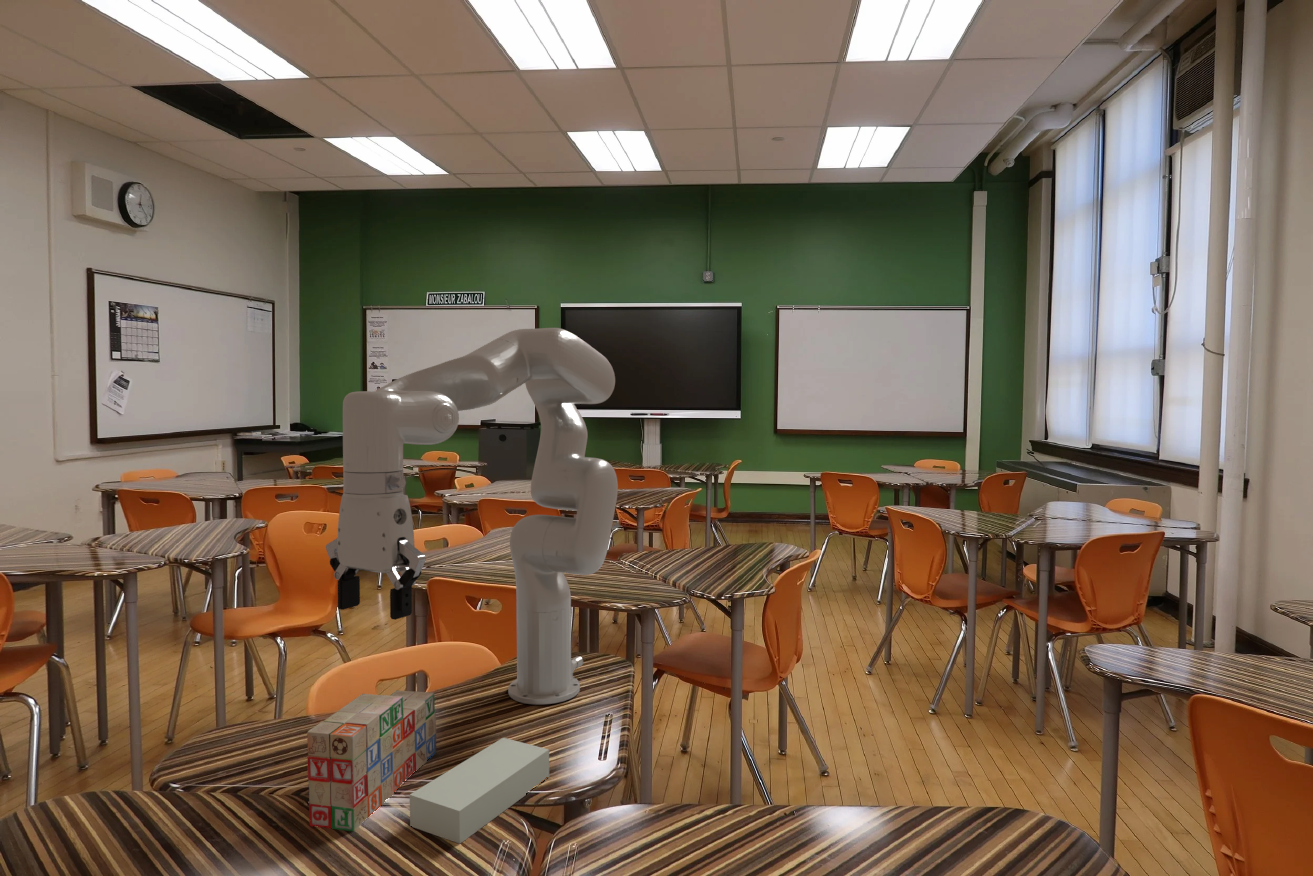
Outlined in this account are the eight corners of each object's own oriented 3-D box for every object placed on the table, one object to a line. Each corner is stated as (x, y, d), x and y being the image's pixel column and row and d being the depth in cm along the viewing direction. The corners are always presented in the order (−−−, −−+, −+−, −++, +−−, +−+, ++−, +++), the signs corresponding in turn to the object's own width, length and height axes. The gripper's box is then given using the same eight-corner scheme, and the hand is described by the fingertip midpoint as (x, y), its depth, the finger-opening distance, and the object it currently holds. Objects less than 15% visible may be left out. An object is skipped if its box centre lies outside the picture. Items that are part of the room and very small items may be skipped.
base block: (503, 764, 113) (503, 737, 112) (549, 777, 109) (549, 749, 109) (410, 826, 97) (409, 794, 96) (459, 843, 93) (459, 811, 93)
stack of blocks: (398, 750, 118) (397, 669, 117) (437, 753, 116) (436, 672, 116) (308, 827, 97) (305, 730, 96) (354, 833, 95) (352, 734, 95)
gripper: (443, 485, 103) (443, 614, 104) (350, 478, 111) (351, 598, 112) (400, 491, 97) (400, 628, 97) (305, 483, 105) (306, 610, 106)
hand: (374, 612), depth 105 cm, fingers open, 9 cm apart
